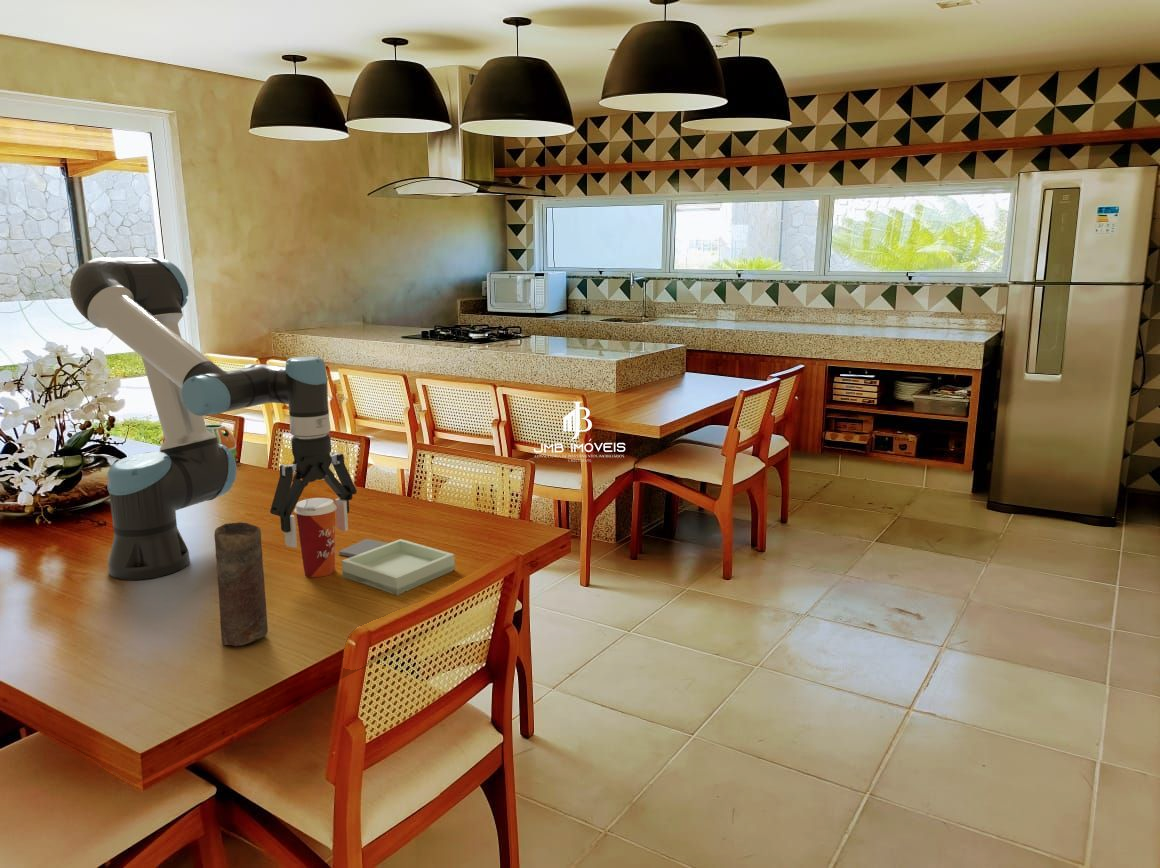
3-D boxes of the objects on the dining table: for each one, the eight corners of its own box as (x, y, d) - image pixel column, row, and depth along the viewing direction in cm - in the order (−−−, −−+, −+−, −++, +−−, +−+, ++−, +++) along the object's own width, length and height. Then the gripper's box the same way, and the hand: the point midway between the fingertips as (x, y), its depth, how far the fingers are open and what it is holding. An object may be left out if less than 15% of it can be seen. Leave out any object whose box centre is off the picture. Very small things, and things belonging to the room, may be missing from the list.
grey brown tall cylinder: (255, 625, 147) (246, 518, 142) (278, 638, 142) (269, 527, 138) (213, 641, 141) (202, 529, 136) (235, 654, 136) (225, 538, 132)
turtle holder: (196, 456, 267) (193, 420, 264) (246, 459, 263) (243, 423, 261) (169, 465, 255) (165, 427, 253) (221, 469, 251) (217, 431, 249)
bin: (397, 595, 160) (396, 578, 159) (342, 576, 169) (341, 560, 168) (454, 570, 173) (454, 554, 172) (401, 554, 182) (400, 538, 181)
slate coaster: (372, 561, 177) (372, 557, 177) (339, 554, 181) (339, 551, 181) (398, 548, 185) (398, 544, 185) (366, 542, 189) (365, 538, 189)
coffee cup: (333, 579, 167) (328, 508, 164) (292, 579, 167) (287, 508, 164) (345, 564, 175) (341, 496, 172) (307, 564, 176) (302, 496, 172)
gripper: (269, 448, 153) (277, 558, 158) (370, 427, 173) (375, 525, 177) (245, 443, 158) (254, 550, 162) (346, 422, 177) (352, 519, 182)
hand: (317, 537), depth 170 cm, fingers open, 12 cm apart
